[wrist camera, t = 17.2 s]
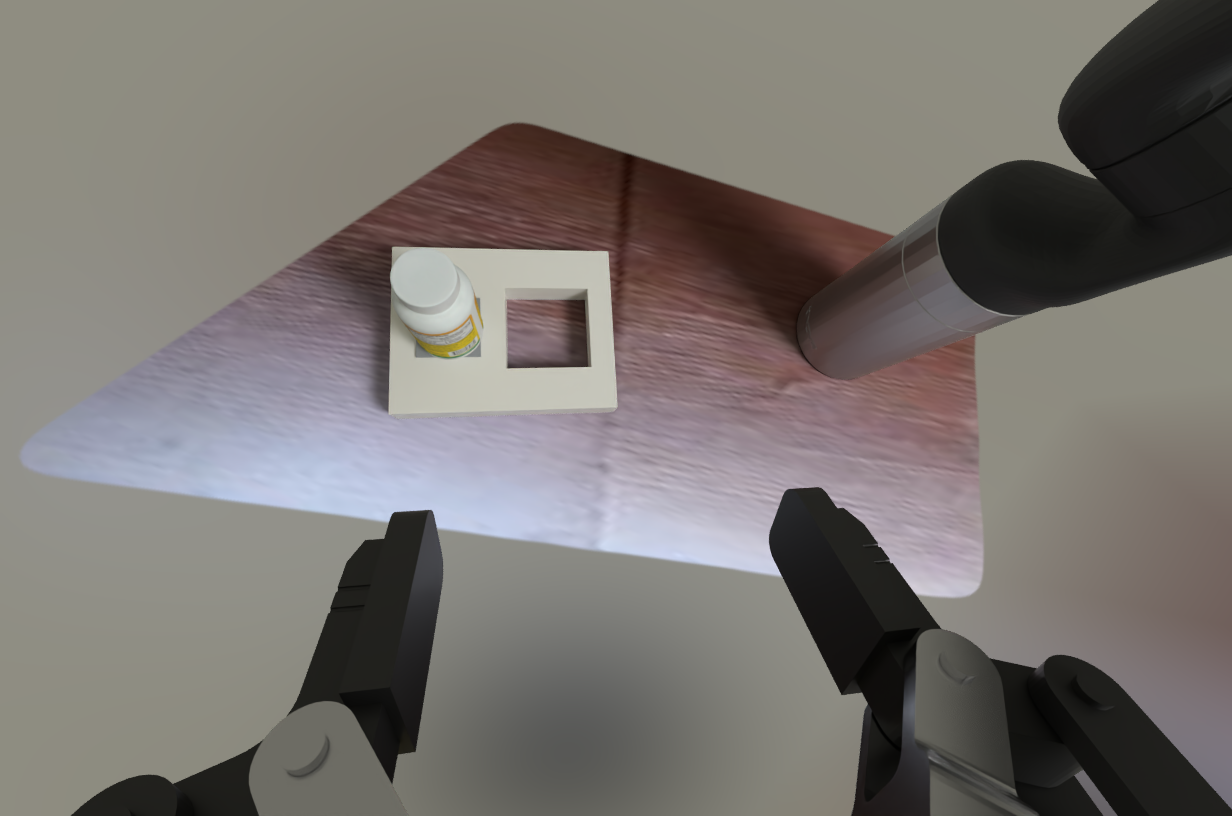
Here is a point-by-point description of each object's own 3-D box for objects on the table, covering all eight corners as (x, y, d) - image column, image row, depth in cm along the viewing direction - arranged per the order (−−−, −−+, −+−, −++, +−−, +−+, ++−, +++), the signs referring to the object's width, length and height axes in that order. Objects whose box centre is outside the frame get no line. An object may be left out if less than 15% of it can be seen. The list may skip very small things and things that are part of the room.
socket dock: (604, 264, 45) (608, 250, 43) (613, 412, 43) (617, 406, 40) (400, 261, 43) (391, 245, 40) (397, 419, 40) (387, 413, 38)
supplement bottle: (473, 368, 39) (453, 329, 30) (406, 350, 39) (364, 304, 29) (492, 308, 40) (478, 251, 31) (427, 289, 40) (393, 226, 30)
